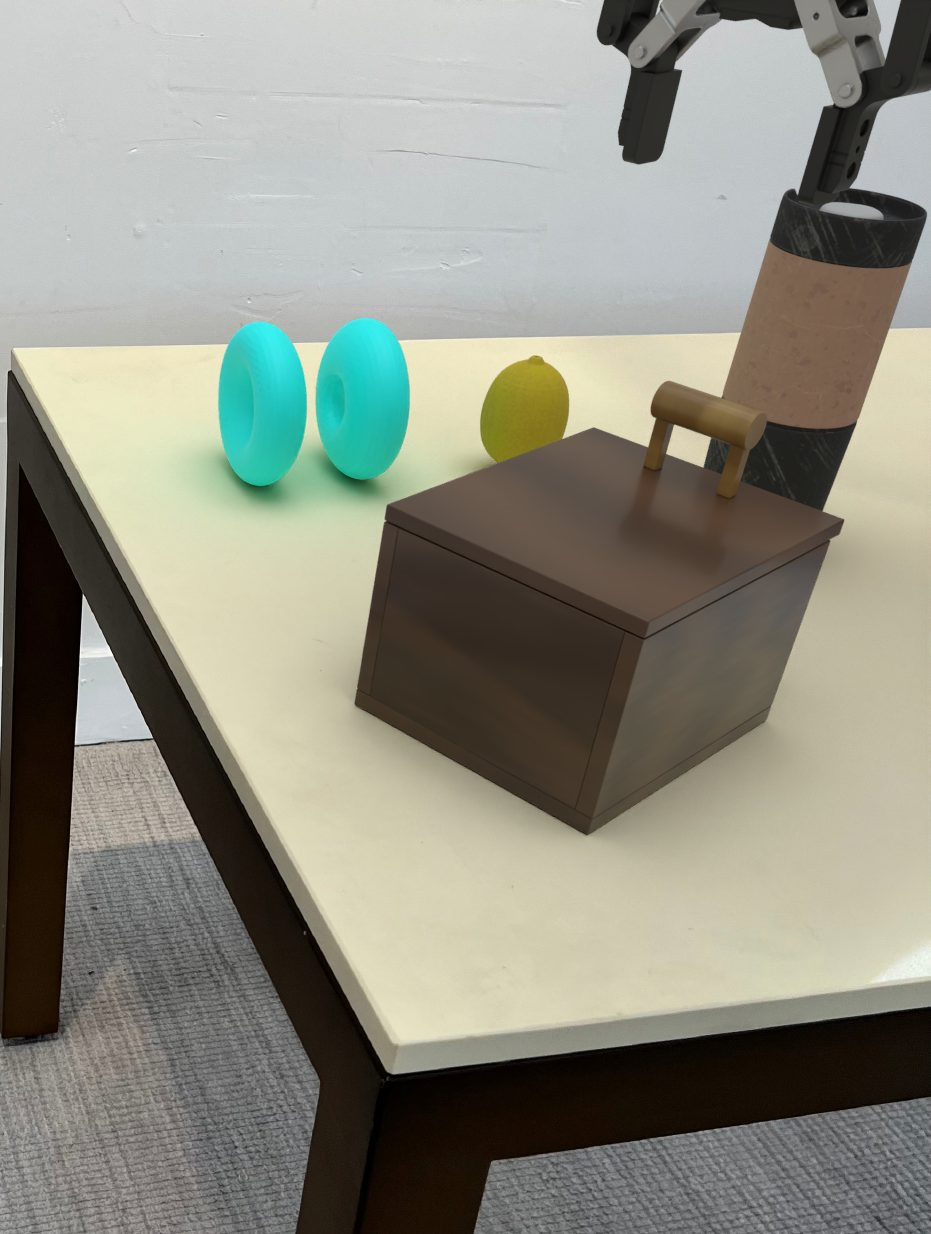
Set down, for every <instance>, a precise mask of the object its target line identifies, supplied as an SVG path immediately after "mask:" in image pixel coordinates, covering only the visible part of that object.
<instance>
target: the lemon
mask: <svg viewBox="0 0 931 1234" xmlns="http://www.w3.org/2000/svg"><path fill="white" fill-rule="evenodd" d="M569 415H570V393H569V388H568V386H567V383H566V380H565V379H564V377H563V376H562V373H560V371H559V370H557V368H555V367H554V365H552V364H551V363H548V362H546V361H545V360H544V358H543V356H541V355H535V354H534V355H531V356H530V357H529V358H528V359H523V360H518V361H516V362H514V363H512V364H510V365H508V366H506V367H505V368H504V369H502V370H501V371H500V372H499V373H498V374H497V376H495V378H494V379H493V381H492V382H491V384H490V386H489V387H488V390H487V392H486V394H485V397H484V400H483V403H482V406H481V411H480V418H479V434H480V440H481V443H482V445H483V447H484V450H485V451H486V453H487V454H488V456H489V457H490V458H491V459H492V460H494V461H495V462H496V464H497V463H499V462H502V461H505V460H507V459H510V458H513V457H515V456H518V455H521V454H523V453H526V452H529V451H531V450H534V449H537V448H540V447H542V446H545V445H548V444H550V443H553V442H556V441H558V440H561V439H564V435H565V432H566V429H567V425H568V421H569Z"/></svg>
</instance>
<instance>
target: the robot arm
mask: <svg viewBox="0 0 931 1234" xmlns="http://www.w3.org/2000/svg"><path fill="white" fill-rule="evenodd" d="M660 1H661V0H603V3H602V7H601V10H600V14H599V18H598V22H597V26H596V37H597V40H598V42H599V43H600V44H601V45H603V46H606V47H607V46H612V47H614V48H615V49H616V50H618V51H619V52H620V53H621V54H623V55H624V56H625V57H626V58H627V59H628V62H629V64H630V75H629V78H628V79H629V80H628V84H627V89H626V93H625V97H624V102H623V109H622V112H621V119H620V121H619V125H618V129H617V139H618V140H617V141H618V146H620V147H622V152H621V158H622V161H624V162H626V163H630V164H634V165H638V166H639V165H644V164H649V163H655V162H657V161H658V160H659V159H660V158H661V156H662V154H663V152H664V150H665V145H666V140H667V138H668V137H667V136H668V133H669V130H670V124H671V120H672V116H673V112H674V108H675V103H676V100H677V95H678V91H679V87H680V82H681V78H682V74H683V70H682V69H678V68H675V66H676V63H677V62H678V61H679V60H680V59H681V58H682V57H683V56H684V55H685V54H686V52H688V50H689V49H690V48H691V47H692V46H693V45H694V44H695V43H696V42H697V41H698V40H699V39H700V37H701V36H703V35H704V33H706V32H707V31H708V30H709V29H710V28H712V27H714V26H716V25H718V24H719V23H720V22H721V21H722V20H724V21H730V22H742V21H752V20H757V22H758V21H759V22H760V23H762V24H764V25H766V26H767V27H770V28H772V29H773V28H774V29H780V30H785V31H790V30H791V31H793V30H799V29H802V30H803V33H804V36H805V40H806V43H807V46H808V48H809V50H810V51H811V53H812V54H813V55H814V56H816V57H817V58H818V60H819V62H820V66H821V68H822V72H823V75H824V79H825V81H826V85H827V88H828V91H829V94H830V97H831V101H832V102H833V104H829V105H824V106H823V107H822V110H821V113H820V117H819V120H818V124H817V128H816V131H815V134H814V138H813V140H812V145H811V148H810V151H809V154H808V158H807V161H806V165H805V168H804V172H803V175H802V178H801V182H800V185H799V189H798V192H797V194H798V201H799V202H800V203H804V204H808V205H812V206H819V205H823V204H827V203H831V202H833V201H834V200H835V199H836V198H837V196H838V195H839V193H840V191H844V190H848V189H849V188H852V185H853V184H854V183H855V182H856V180H857V178H858V176H859V173H860V170H861V166H862V162H863V159H864V157H865V152H866V150H867V148H868V145H869V142H870V141H869V140H870V137H871V134H872V131H873V129H874V125H875V123H876V122H875V121H876V119H877V116H878V113H879V111H880V109H881V108H882V107H883V106H884V105H885V104H886V103H887V102H889V101H890V100H891V101H892V100H893V99H897V98H902V97H903V98H904V97H907V96H912V95H916V94H921V93H927V92H930V91H931V0H900V1H899V5H898V10H897V14H896V17H895V20H894V25H893V29H892V33H891V38H890V40H889V44H888V48H887V52H886V57H885V54H884V50H883V48H882V44H881V41H880V34H881V31H882V24H881V20H880V17H879V14H878V10H877V8H876V4H875V1H874V0H662V1H661V3H660ZM658 8H659V11H658Z"/></svg>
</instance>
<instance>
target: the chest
mask: <svg viewBox="0 0 931 1234" xmlns="http://www.w3.org/2000/svg"><path fill="white" fill-rule="evenodd" d="M830 544H831V539H830V540H828V541H826V542H824V543H822V544H821V545H819V546H817V547H815V548H813V549H811V550H809V551H807V552H805V553H804V554H802V555H800V556H798V557H796V558H794V559H792V560H790V561H789V562H787V563H785V564H783V565H781V566H779V567H777V568H775V569H774V570H772V571H770V572H768V573H766V574H764V575H762V576H760V577H758V578H757V579H755V580H753V581H751V582H749V583H747V584H745V585H743V586H742V587H740V588H738V589H736V590H734V591H732V592H730V593H728V594H727V595H725V596H723V597H721V598H719V599H717V600H715V601H713V602H711V603H710V604H708V605H706V606H704V607H702V608H700V609H698V610H696V611H695V612H693V613H691V614H689V615H687V616H685V617H683V618H681V619H680V620H678V621H676V622H674V623H672V624H670V625H668V626H666V627H665V628H663V629H661V630H659V631H657V632H655V633H653V634H651V635H649V636H648V637H646V638H642V637H640V636H638V635H636V634H633V633H631V632H629V631H627V630H625V629H622V628H620V627H618V626H616V625H614V624H612V623H609V622H607V621H605V620H603V619H601V618H598V617H596V616H594V615H592V614H590V613H587V612H585V611H583V610H581V609H579V608H576V607H574V606H572V605H570V604H568V603H565V602H563V601H561V600H559V599H557V598H555V597H552V596H550V595H548V594H546V593H544V592H541V591H539V590H537V589H535V588H533V587H530V586H528V585H526V584H524V583H522V582H519V581H517V580H515V579H513V578H511V577H508V576H506V575H504V574H502V573H500V572H497V571H495V570H493V569H491V568H489V567H487V566H484V565H482V564H480V563H478V562H476V561H473V560H471V559H469V558H467V557H465V556H462V555H460V554H458V553H456V552H454V551H451V550H449V549H447V548H445V547H443V546H440V545H438V544H436V543H434V542H432V541H430V540H427V539H425V538H423V537H421V536H419V535H416V534H414V533H412V532H410V531H408V530H405V529H403V528H401V527H399V526H397V525H394V524H392V523H390V522H388V521H386V520H384V522H383V526H382V532H381V538H380V544H379V551H378V557H377V563H376V569H375V575H374V580H373V581H374V582H373V586H372V593H371V599H370V605H369V611H368V619H367V623H366V624H367V625H366V630H365V636H364V642H363V647H362V654H361V659H360V660H361V661H360V667H359V673H358V679H357V686H356V691H355V698H354V705H355V706H357V707H359V708H361V709H363V710H364V711H366V712H368V713H369V714H371V715H373V716H374V717H376V718H378V719H380V720H381V721H383V722H386V723H387V724H389V725H391V726H392V727H395V728H396V729H398V730H400V731H401V732H404V733H405V734H407V735H409V736H411V737H412V738H414V739H416V740H418V741H420V742H421V743H423V744H425V745H426V746H428V747H430V748H432V749H434V750H435V751H437V752H439V753H440V754H443V755H445V756H446V757H448V758H449V759H452V760H453V761H455V762H457V763H458V764H460V765H462V766H464V767H466V768H467V769H469V770H471V771H472V772H475V773H476V774H478V775H480V776H482V777H483V778H485V779H487V780H489V781H490V782H492V783H495V784H496V785H497V786H499V787H502V788H503V789H505V790H507V791H509V792H510V793H512V794H514V795H516V796H517V797H519V798H521V799H523V800H524V801H526V802H529V804H532V805H533V806H535V807H536V808H539V809H541V810H542V811H544V812H546V813H548V814H549V815H551V816H553V817H555V818H557V819H558V820H560V821H562V822H564V823H566V824H567V825H569V826H571V827H572V828H575V830H578V831H579V832H582V833H583V834H585V835H590V834H591V833H592V832H594V831H596V830H597V829H598V828H600V827H602V826H603V825H605V824H606V823H608V822H610V821H612V819H614V818H616V817H618V816H619V815H620V814H622V813H624V812H625V811H627V810H628V809H629V808H631V807H633V806H635V804H638V803H639V802H641V801H642V800H644V799H645V798H647V797H648V796H650V795H652V794H653V793H655V792H656V791H657V790H660V789H661V788H663V787H664V786H666V785H667V784H669V783H670V782H672V781H674V780H675V779H677V778H678V777H679V776H681V775H683V774H684V773H686V772H687V771H689V770H690V769H692V768H694V767H695V766H697V765H698V764H700V763H702V762H703V761H704V760H706V759H708V758H709V757H710V756H712V755H714V754H716V753H717V752H719V751H720V750H722V749H724V747H726V746H728V745H730V744H732V743H733V742H735V741H736V740H738V739H739V738H740V737H742V736H744V735H745V734H747V733H748V732H750V731H751V730H753V729H754V728H756V727H757V726H759V725H761V724H762V723H763V722H765V721H767V720H768V717H769V714H770V711H771V709H772V705H773V704H774V701H775V698H776V695H777V692H778V689H779V687H780V684H781V681H782V678H783V676H784V673H785V670H786V667H787V664H788V661H789V659H790V656H791V653H792V652H793V651H792V650H793V647H794V645H795V642H796V639H797V636H798V633H799V631H800V628H801V625H802V623H803V621H804V620H803V619H804V617H805V615H806V611H807V609H808V605H809V603H810V600H811V598H812V594H813V591H814V590H815V586H816V583H817V580H818V578H819V575H820V572H821V570H822V567H823V563H824V561H825V558H826V555H827V553H828V550H829V547H830Z"/></svg>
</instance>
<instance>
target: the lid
mask: <svg viewBox="0 0 931 1234" xmlns="http://www.w3.org/2000/svg"><path fill="white" fill-rule="evenodd" d="M649 412H650V415H651V416H652V417H653V418H654V419H655V420H654V424H653V426H652V427H653V428H652V432H651V435H650V439H649V442H648V445H647V446H646V445H643V444H641V443H637V442H635V441H632V440H629V439H627V438H624V437H621V436H619V435H616V434H613V433H610V432H608V431H605V430H602V429H599V428H597V427H590V428H588V429H585V430H583V431H580V432H577V433H574V434H572V435H569V436H566V437H563V438H562V439H561V440H558V441H556V442H553V443H550V444H548V445H545V446H542V447H540V448H537V449H534V450H531V451H529V452H526V453H523V454H521V455H518V456H515V457H513V458H510V459H507V460H505V461H502V462H499V463H497V462H496V463H494V464H491V465H489V466H486V467H483V468H481V469H478V470H475V471H473V472H470V473H468V474H465V475H462V476H460V477H457V478H454V479H452V480H448V481H446V482H444V483H441V484H438V485H436V486H432V487H430V488H428V489H425V490H421V491H420V492H417V493H414V494H412V495H409V496H406V497H403V498H401V499H398V500H395V501H393V502H390V503H387V504H386V507H385V513H384V521H388V522H390V523H392V524H394V525H397V526H399V527H401V528H403V529H405V530H408V531H410V532H412V533H414V534H416V535H419V536H421V537H423V538H425V539H427V540H430V541H432V542H434V543H436V544H438V545H440V546H443V547H445V548H447V549H449V550H451V551H454V552H456V553H458V554H460V555H462V556H465V557H467V558H469V559H471V560H473V561H476V562H478V563H480V564H482V565H484V566H487V567H489V568H491V569H493V570H495V571H497V572H500V573H502V574H504V575H506V576H508V577H511V578H513V579H515V580H517V581H519V582H522V583H524V584H526V585H528V586H530V587H533V588H535V589H537V590H539V591H541V592H544V593H546V594H548V595H550V596H552V597H555V598H557V599H559V600H561V601H563V602H565V603H568V604H570V605H572V606H574V607H576V608H579V609H581V610H583V611H585V612H587V613H590V614H592V615H594V616H596V617H598V618H601V619H603V620H605V621H607V622H609V623H612V624H614V625H616V626H618V627H620V628H622V629H625V630H627V631H629V632H631V633H633V634H636V635H638V636H640V637H642V638H646V637H648V636H649V635H651V634H653V633H655V632H657V631H659V630H661V629H663V628H665V627H666V626H668V625H670V624H672V623H674V622H676V621H678V620H680V619H681V618H683V617H685V616H687V615H689V614H691V613H693V612H695V611H696V610H698V609H700V608H702V607H704V606H706V605H708V604H710V603H711V602H713V601H715V600H717V599H719V598H721V597H723V596H725V595H727V594H728V593H730V592H732V591H734V590H736V589H738V588H740V587H742V586H743V585H745V584H747V583H749V582H751V581H753V580H755V579H757V578H758V577H760V576H762V575H764V574H766V573H768V572H770V571H772V570H774V569H775V568H777V567H779V566H781V565H783V564H785V563H787V562H789V561H790V560H792V559H794V558H796V557H798V556H800V555H802V554H804V553H805V552H807V551H809V550H811V549H813V548H815V547H817V546H819V545H821V544H822V543H824V542H826V541H828V540H830V541H831V540H832V539H834V538H836V537H837V536H839V535H840V534H841V532H842V529H843V526H844V523H845V519H844V518H842V517H839V516H837V515H834V514H831V513H829V512H826V511H824V510H823V511H820V510H818V509H815V508H812V507H809V506H807V505H804V504H801V503H798V502H796V501H793V500H790V499H788V498H785V497H782V496H779V495H777V494H774V493H771V492H769V491H766V490H763V489H760V488H758V487H755V486H752V485H749V484H747V483H744V482H741V481H740V480H741V477H742V474H743V471H744V468H745V464H746V461H747V458H748V455H749V451H750V449H752V448H753V447H754V446H755V445H756V444H757V443H758V441H759V440H760V438H761V437H762V435H763V432H764V430H765V427H766V423H767V415H766V413H765V412H762V411H759V410H756V409H753V408H750V407H747V406H744V405H741V404H738V403H735V402H732V401H729V400H726V399H723V398H722V397H720V396H717V395H714V394H711V393H708V392H705V391H703V390H700V389H696V388H693V387H690V386H687V385H684V384H681V383H678V382H675V381H672V380H665V381H664V382H663V383H661V384H660V386H659V387H658V388H657V390H655V393H654V394H653V397H652V399H651V404H650V411H649ZM675 426H677V427H680V428H682V429H685V430H688V431H691V432H694V433H697V434H700V435H702V436H705V437H708V438H710V439H711V438H713V439H716V440H719V441H722V442H725V443H728V444H730V445H731V446H730V449H729V453H728V456H727V459H726V463H725V466H724V469H723V473H722V474H720V473H717V472H714V471H711V470H709V469H706V468H703V467H704V466H700V465H698V464H695V463H693V462H689V461H686V460H684V459H681V458H678V457H676V456H673V455H671V454H667V452H668V448H669V445H670V442H671V437H672V435H673V430H674V427H675Z"/></svg>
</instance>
